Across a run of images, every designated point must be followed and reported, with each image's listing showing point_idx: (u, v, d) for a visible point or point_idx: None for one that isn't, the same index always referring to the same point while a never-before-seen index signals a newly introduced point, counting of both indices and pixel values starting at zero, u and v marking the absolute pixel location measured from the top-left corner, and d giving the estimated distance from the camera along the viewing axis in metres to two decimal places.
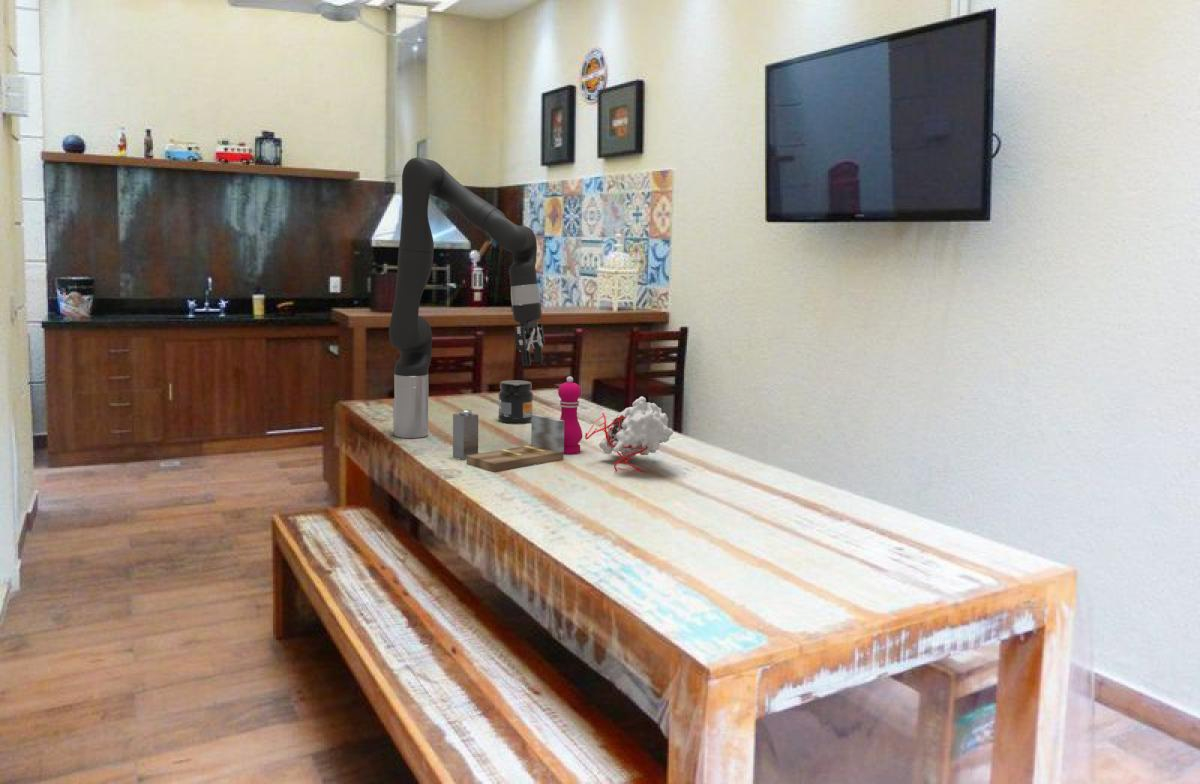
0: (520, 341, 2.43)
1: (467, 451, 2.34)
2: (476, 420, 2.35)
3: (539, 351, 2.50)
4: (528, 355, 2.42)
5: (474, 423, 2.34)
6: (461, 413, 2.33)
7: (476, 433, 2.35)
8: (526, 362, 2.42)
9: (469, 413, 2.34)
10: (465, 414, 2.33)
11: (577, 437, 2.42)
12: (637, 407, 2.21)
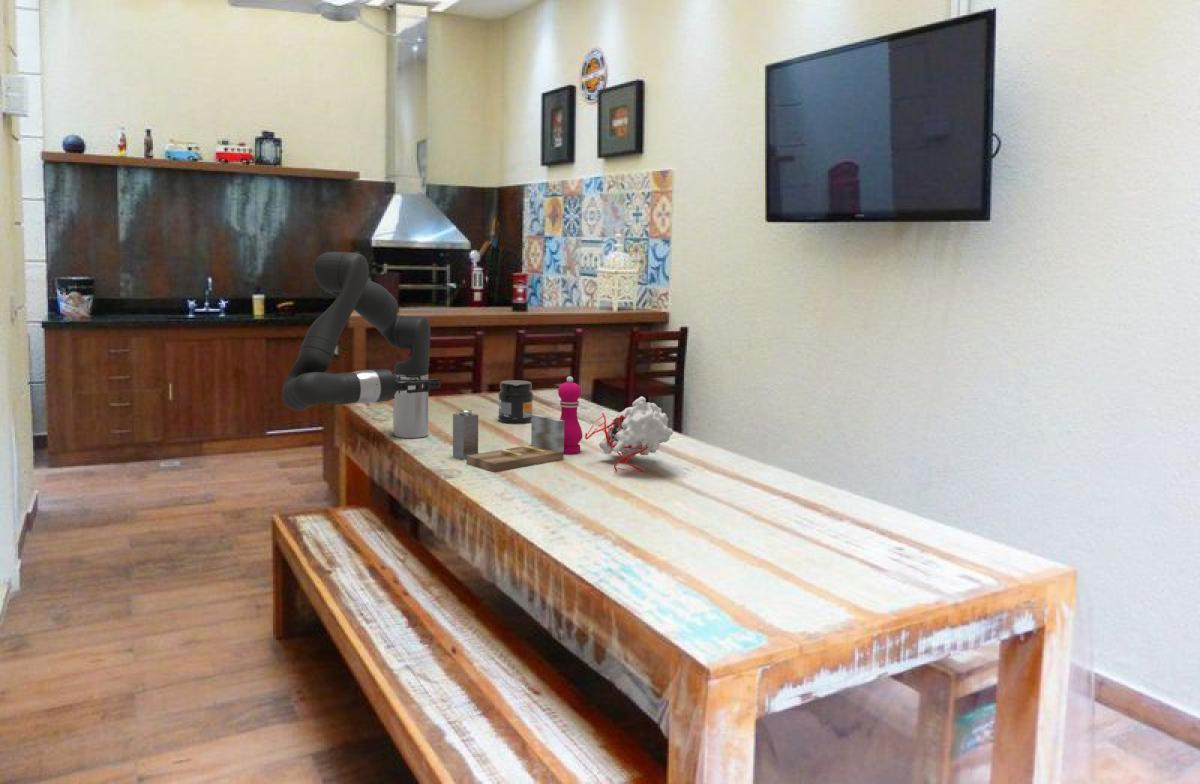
0: None
1: (467, 451, 2.34)
2: (476, 420, 2.35)
3: None
4: None
5: (474, 423, 2.34)
6: (461, 413, 2.33)
7: (476, 433, 2.35)
8: None
9: (469, 413, 2.34)
10: (465, 414, 2.33)
11: (577, 437, 2.42)
12: (637, 407, 2.21)
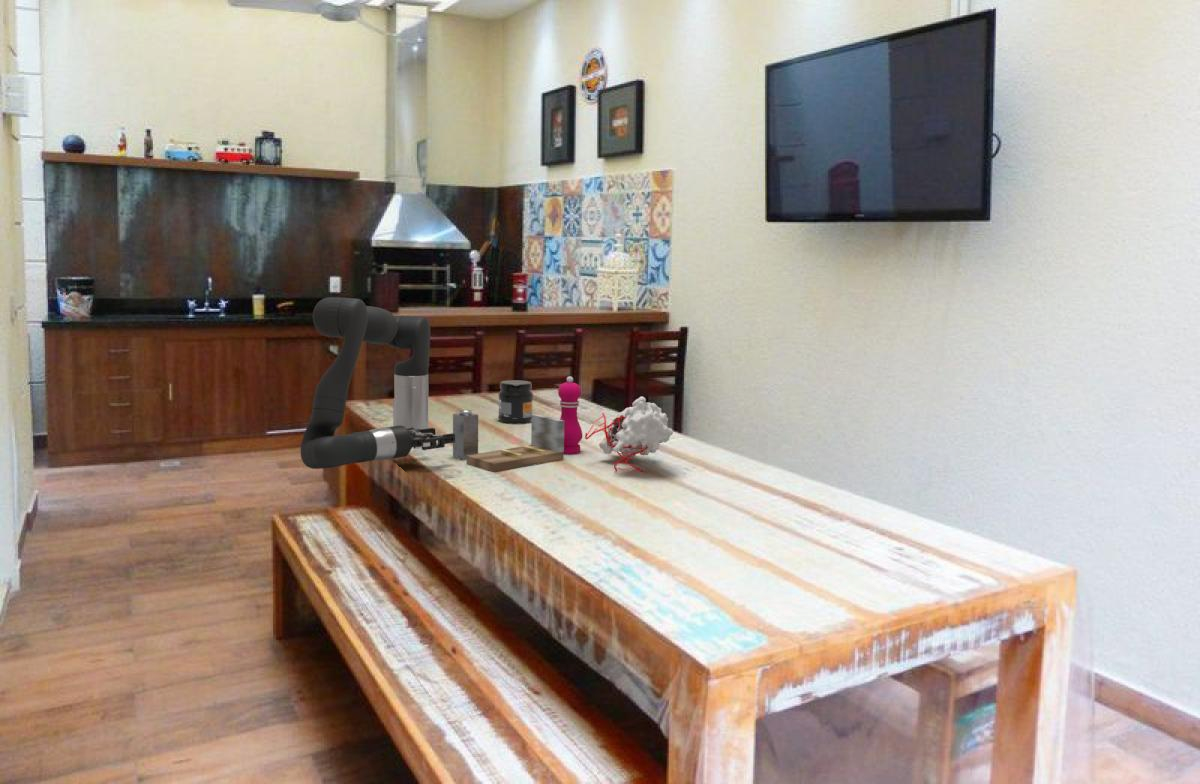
0: None
1: (467, 451, 2.34)
2: (476, 420, 2.35)
3: None
4: None
5: (474, 423, 2.34)
6: (461, 413, 2.33)
7: (476, 433, 2.35)
8: None
9: (469, 413, 2.34)
10: (465, 414, 2.33)
11: (577, 437, 2.42)
12: (637, 407, 2.21)
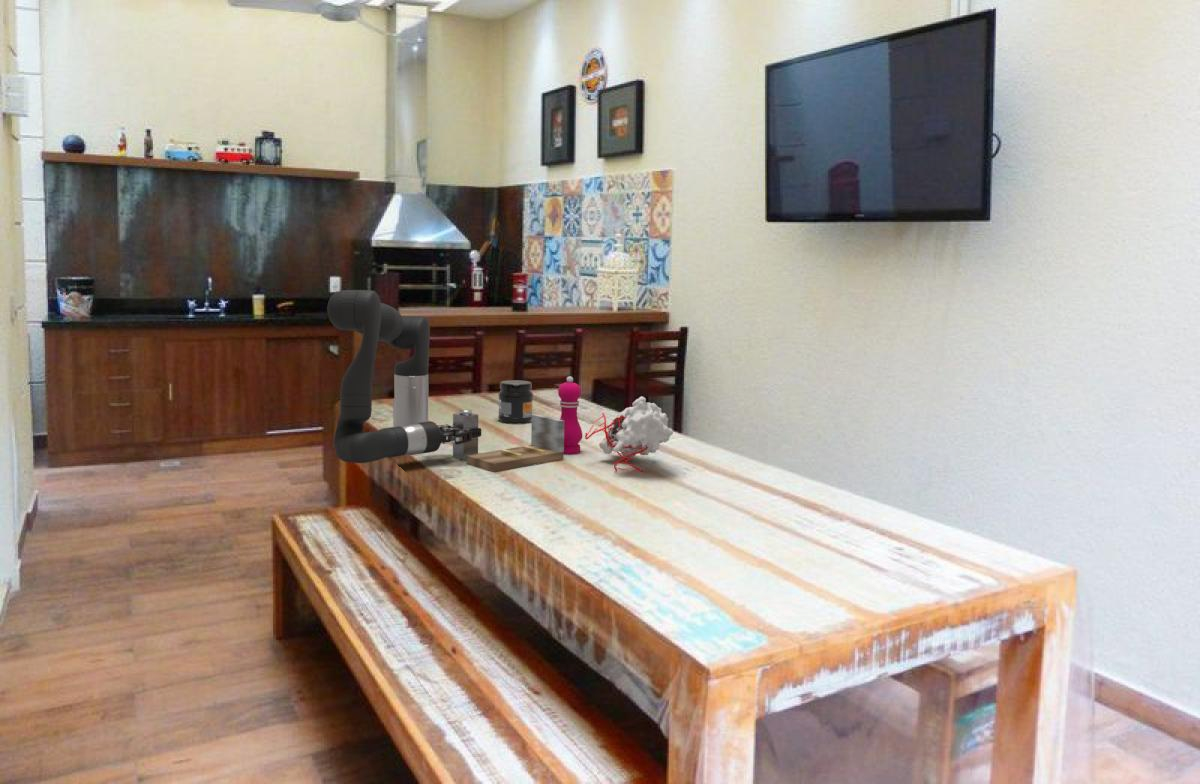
0: None
1: (467, 451, 2.34)
2: (476, 420, 2.34)
3: None
4: None
5: (474, 423, 2.34)
6: (461, 413, 2.33)
7: None
8: None
9: (469, 413, 2.34)
10: (465, 414, 2.33)
11: (577, 437, 2.42)
12: (637, 407, 2.21)
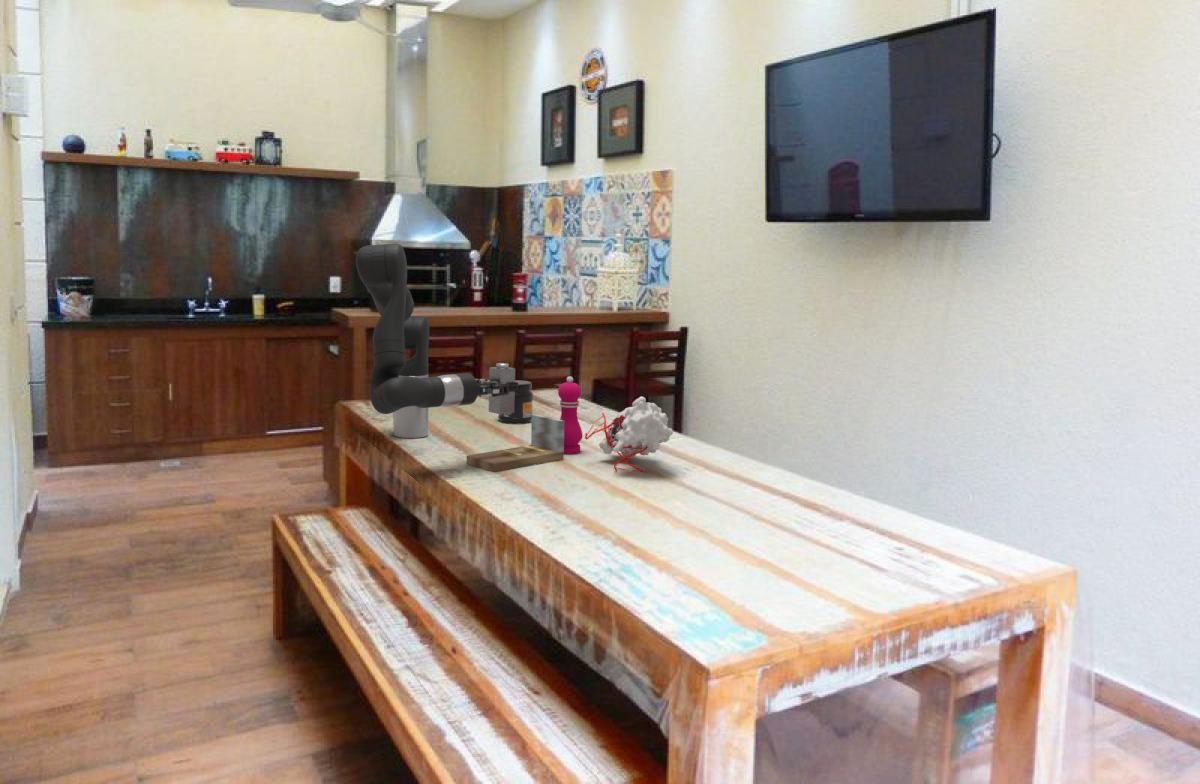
0: None
1: (504, 406, 2.29)
2: (513, 374, 2.29)
3: None
4: None
5: (511, 377, 2.29)
6: (498, 366, 2.29)
7: None
8: None
9: (506, 366, 2.29)
10: (502, 367, 2.28)
11: (577, 437, 2.42)
12: (637, 407, 2.21)
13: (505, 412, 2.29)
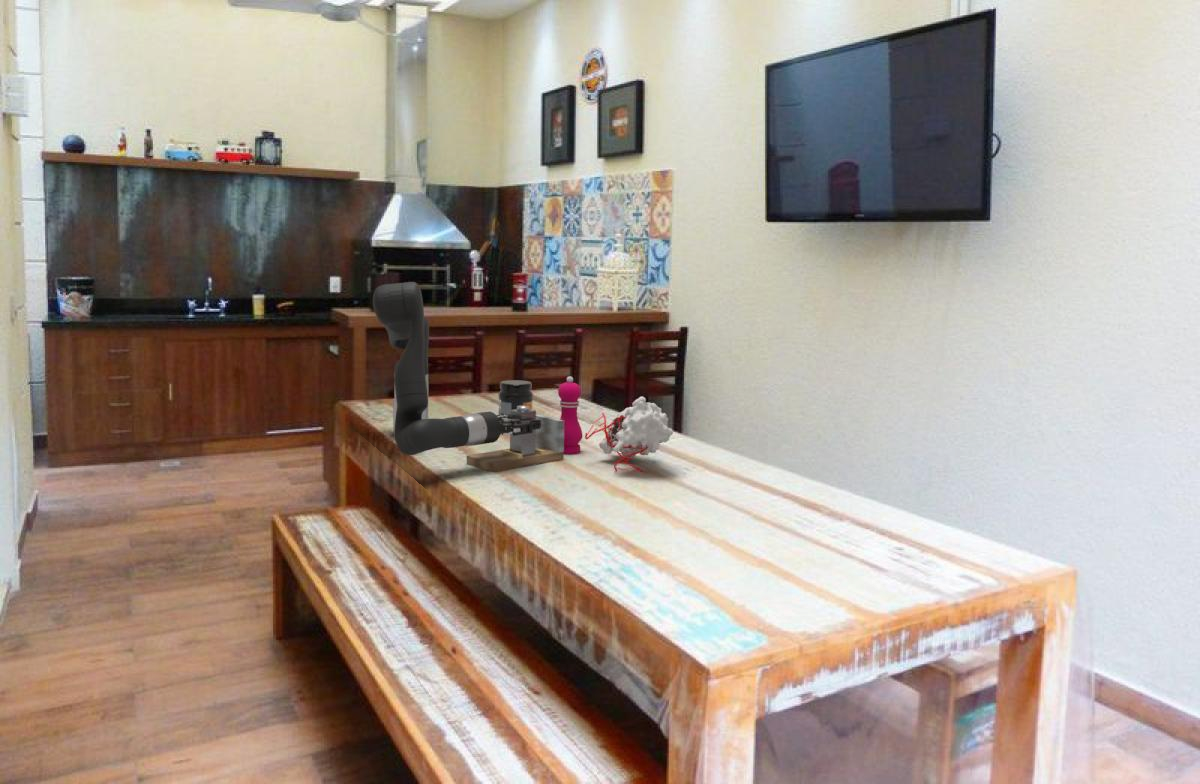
0: None
1: (525, 448, 2.30)
2: (534, 416, 2.30)
3: None
4: None
5: (532, 419, 2.30)
6: (519, 409, 2.29)
7: (534, 429, 2.31)
8: None
9: (527, 409, 2.30)
10: (523, 410, 2.29)
11: (577, 437, 2.42)
12: (637, 407, 2.21)
13: (526, 454, 2.30)
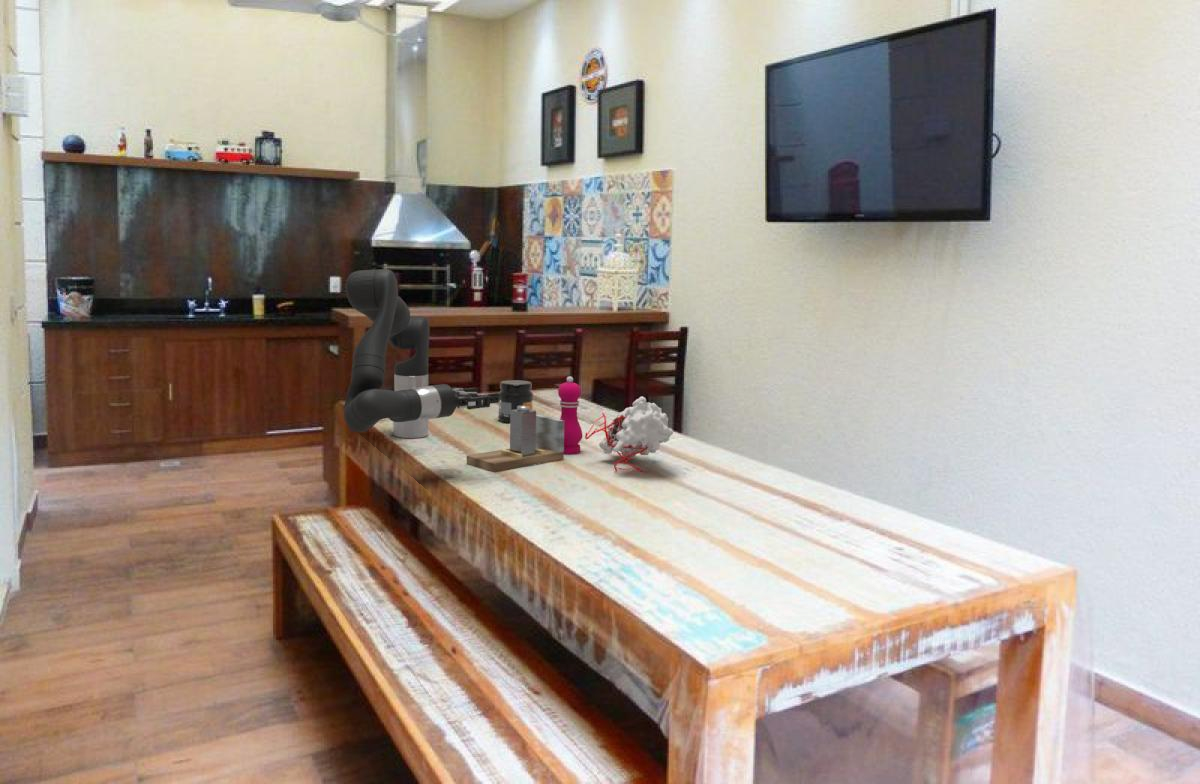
0: None
1: (525, 448, 2.30)
2: (534, 416, 2.30)
3: None
4: None
5: (532, 419, 2.30)
6: (519, 409, 2.29)
7: (534, 430, 2.31)
8: None
9: (527, 409, 2.30)
10: (523, 410, 2.29)
11: (577, 437, 2.42)
12: (637, 407, 2.21)
13: (526, 454, 2.30)
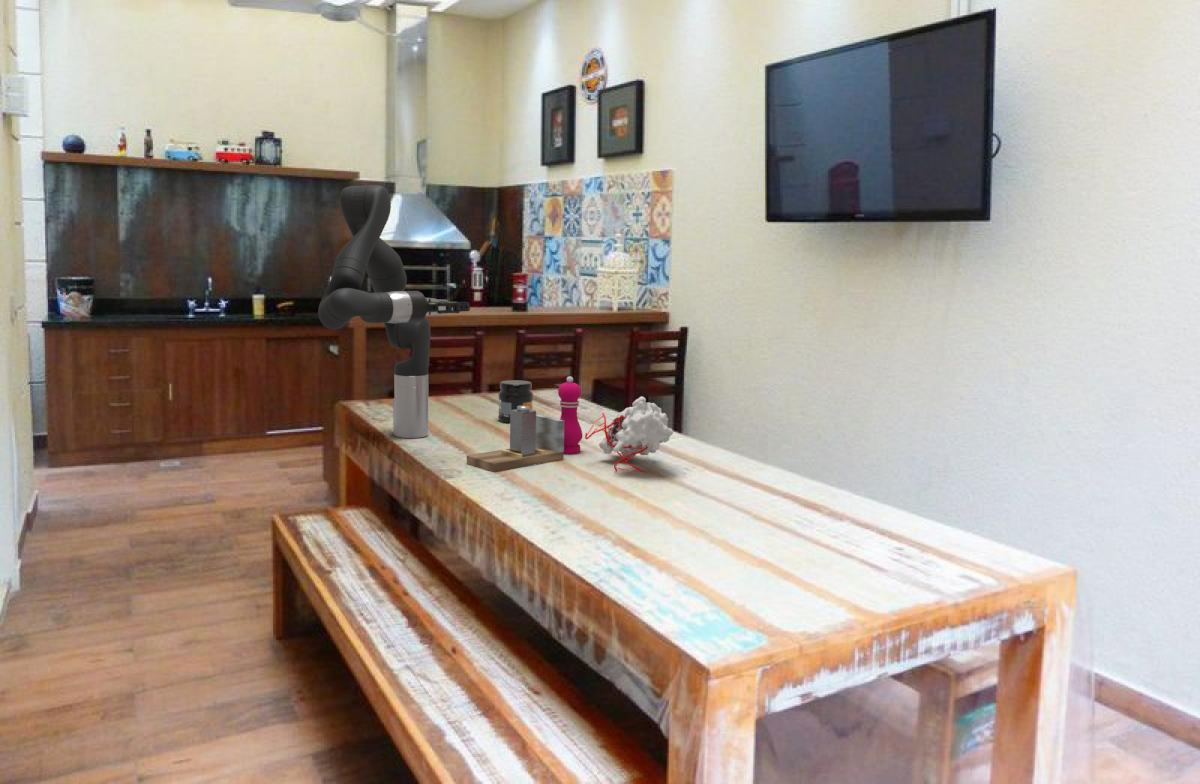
0: None
1: (525, 448, 2.30)
2: (534, 416, 2.30)
3: None
4: None
5: (532, 419, 2.30)
6: (519, 409, 2.29)
7: (534, 430, 2.31)
8: None
9: (527, 409, 2.30)
10: (523, 410, 2.29)
11: (577, 437, 2.42)
12: (637, 407, 2.21)
13: (526, 454, 2.30)
